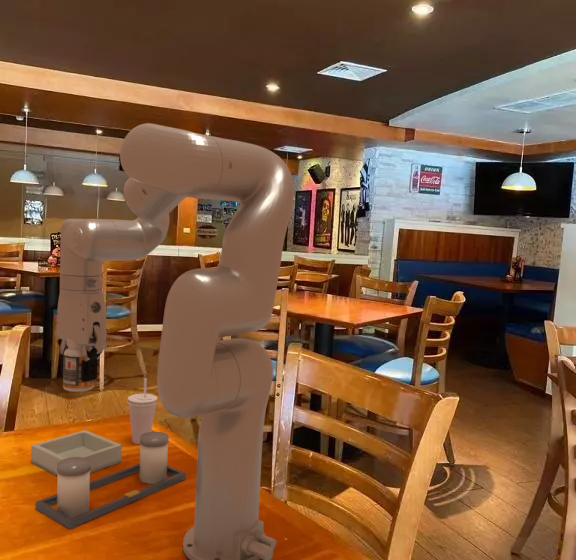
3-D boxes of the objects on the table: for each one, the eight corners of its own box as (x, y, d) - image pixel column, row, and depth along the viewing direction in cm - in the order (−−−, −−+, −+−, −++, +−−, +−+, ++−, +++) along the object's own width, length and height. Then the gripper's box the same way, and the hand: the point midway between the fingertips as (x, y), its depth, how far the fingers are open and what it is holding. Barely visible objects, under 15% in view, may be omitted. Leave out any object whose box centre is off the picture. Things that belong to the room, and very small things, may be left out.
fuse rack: (186, 479, 111) (186, 472, 111) (70, 529, 91) (70, 520, 91) (151, 464, 117) (151, 457, 117) (35, 508, 97) (35, 500, 97)
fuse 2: (172, 477, 111) (174, 436, 111) (151, 486, 107) (153, 443, 107) (154, 469, 114) (155, 429, 114) (132, 478, 110) (134, 436, 110)
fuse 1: (96, 509, 98) (97, 463, 97) (68, 521, 94) (69, 472, 93) (77, 499, 101) (78, 454, 100) (49, 510, 97) (50, 463, 96)
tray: (121, 462, 117) (121, 445, 117) (67, 481, 107) (67, 462, 107) (84, 446, 124) (85, 429, 124) (31, 462, 114) (31, 445, 114)
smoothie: (146, 448, 125) (148, 383, 123) (119, 443, 127) (121, 379, 125) (161, 438, 131) (163, 376, 129) (136, 433, 133) (138, 373, 131)
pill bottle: (84, 394, 111) (85, 342, 110) (56, 390, 112) (57, 339, 111) (99, 386, 116) (101, 336, 116) (73, 383, 118) (74, 334, 117)
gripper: (126, 287, 110) (123, 382, 112) (71, 278, 120) (69, 365, 122) (91, 290, 104) (89, 389, 106) (37, 280, 114) (36, 371, 116)
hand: (78, 375), depth 114 cm, fingers closed on pill bottle, 5 cm apart
